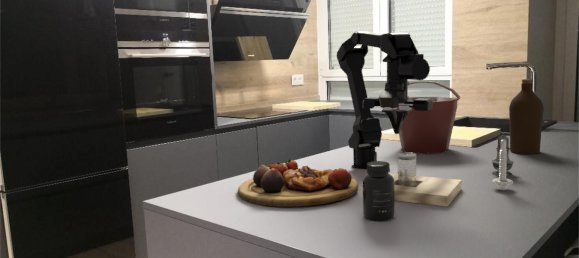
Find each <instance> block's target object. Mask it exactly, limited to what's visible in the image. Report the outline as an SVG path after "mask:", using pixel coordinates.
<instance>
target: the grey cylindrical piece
mask: <svg viewBox="0 0 579 258" xmlns="http://www.w3.org/2000/svg"><path fill="white" fill-rule="evenodd" d="M397 174H398V185H399V186H409V187H416V176H417V153H411V152H405V151H403V152H398V153H397Z"/></svg>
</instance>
